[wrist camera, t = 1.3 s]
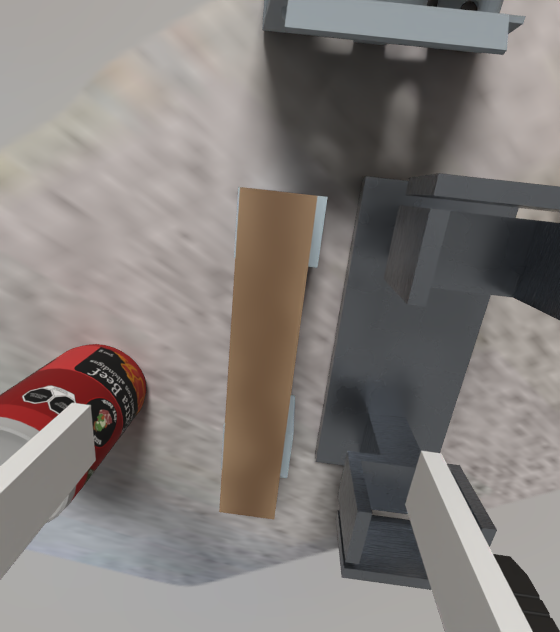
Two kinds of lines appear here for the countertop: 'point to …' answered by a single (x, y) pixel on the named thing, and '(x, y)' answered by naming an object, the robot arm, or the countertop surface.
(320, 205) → the rest block
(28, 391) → the canned food
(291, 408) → the rest block
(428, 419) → the bracket
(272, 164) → the countertop surface
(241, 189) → the rail
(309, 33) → the bracket
